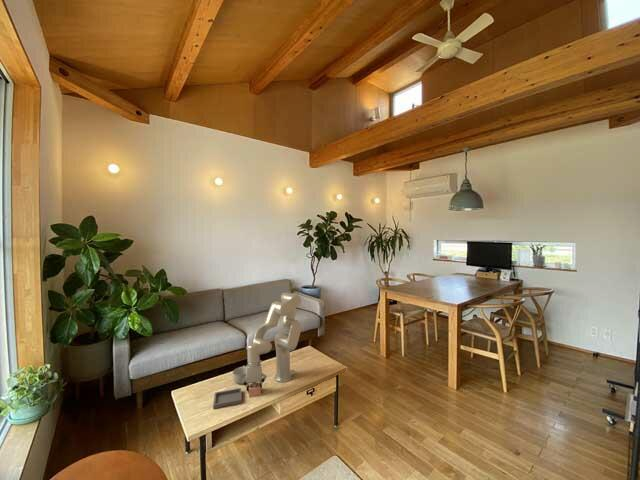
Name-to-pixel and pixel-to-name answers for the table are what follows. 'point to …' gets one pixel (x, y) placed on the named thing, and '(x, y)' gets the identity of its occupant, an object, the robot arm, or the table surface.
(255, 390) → the pink block with knob
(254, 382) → the post
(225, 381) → the table surface
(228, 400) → the tray
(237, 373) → the teacup
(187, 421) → the table surface
